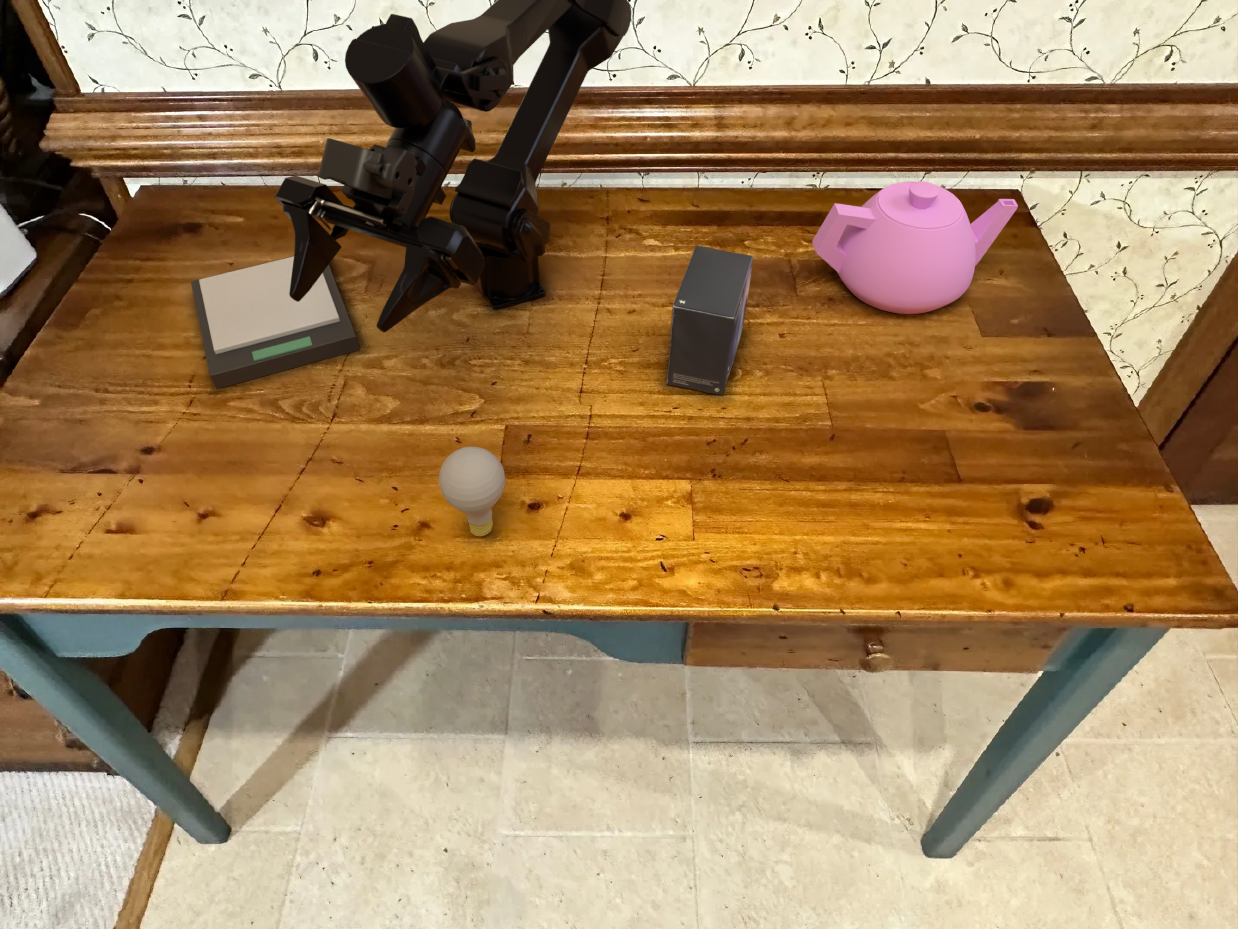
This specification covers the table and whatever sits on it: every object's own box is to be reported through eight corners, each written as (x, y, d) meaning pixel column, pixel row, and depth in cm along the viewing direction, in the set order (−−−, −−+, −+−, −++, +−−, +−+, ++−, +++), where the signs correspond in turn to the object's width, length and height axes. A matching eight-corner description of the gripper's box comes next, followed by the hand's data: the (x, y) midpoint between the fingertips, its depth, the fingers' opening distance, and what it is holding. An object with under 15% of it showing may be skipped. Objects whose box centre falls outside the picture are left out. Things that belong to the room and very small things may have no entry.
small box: (726, 398, 90) (736, 318, 82) (664, 386, 91) (668, 306, 83) (744, 332, 97) (756, 253, 89) (687, 322, 98) (693, 242, 90)
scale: (327, 262, 105) (321, 244, 103) (360, 349, 95) (354, 331, 93) (196, 294, 101) (188, 276, 99) (216, 389, 91) (207, 371, 89)
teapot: (823, 329, 97) (844, 236, 88) (790, 245, 107) (806, 154, 98) (1015, 315, 99) (1055, 223, 90) (965, 234, 109) (996, 143, 100)
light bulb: (524, 523, 80) (514, 450, 72) (487, 565, 77) (473, 493, 69) (477, 498, 82) (462, 424, 74) (439, 538, 79) (420, 465, 71)
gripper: (282, 76, 73) (191, 236, 70) (473, 126, 68) (383, 302, 65) (348, 157, 83) (271, 299, 81) (517, 206, 78) (442, 361, 75)
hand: (336, 314), depth 75 cm, fingers open, 9 cm apart
